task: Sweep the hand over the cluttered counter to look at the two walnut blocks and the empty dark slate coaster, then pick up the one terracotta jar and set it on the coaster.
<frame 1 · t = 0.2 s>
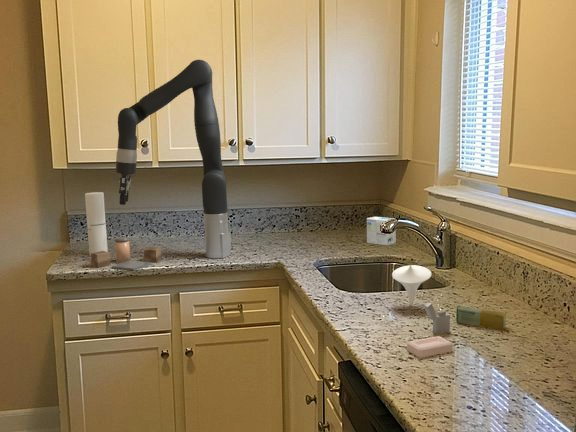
hand: (123, 203, 232), 22 cm above the worktop, tool pointing down, fingers open, 8 cm apart
light bulb box: (381, 243, 256), on the worktop
block b: (101, 265, 227), on the worktop
coaster: (131, 266, 224), on the worktop
mushroom: (411, 306, 170), on the worktop
jar: (123, 261, 233), on the worktop
medication box: (480, 325, 154), on the worktop
lighter: (436, 333, 149), on the worktop
cylindrical container: (98, 254, 246), on the worktop
soap bar: (429, 352, 138), on the worktop
block a: (153, 261, 232), on the worktop
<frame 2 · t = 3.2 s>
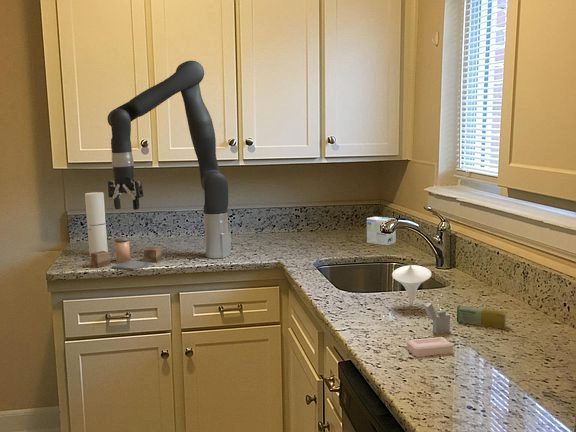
hand: (127, 209, 221), 21 cm above the worktop, tool pointing down, fingers open, 8 cm apart
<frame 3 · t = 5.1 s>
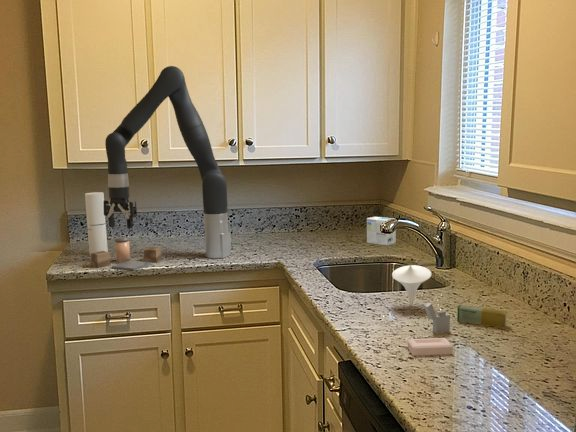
hand: (121, 227, 231), 13 cm above the worktop, tool pointing down, fingers open, 8 cm apart
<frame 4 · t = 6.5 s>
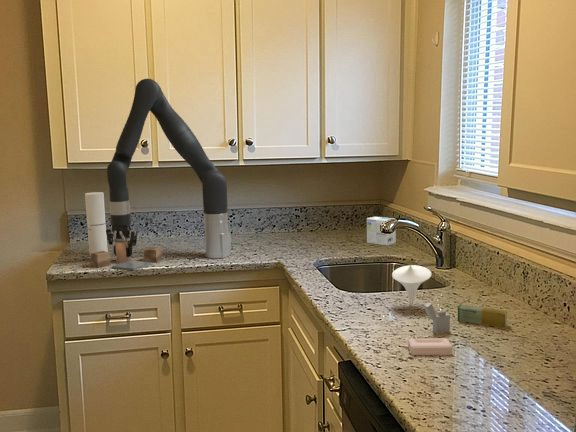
hand: (123, 255, 233), 2 cm above the worktop, tool pointing down, fingers closed on jar, 5 cm apart
jar: (123, 260, 233), on the worktop, touching gripper
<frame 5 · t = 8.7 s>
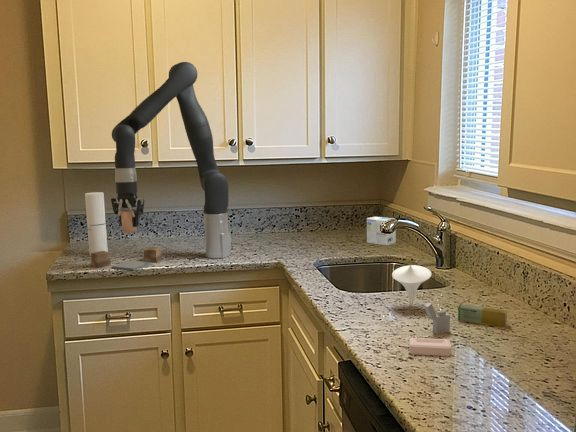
hand: (129, 226, 222), 15 cm above the worktop, tool pointing down, fingers closed on jar, 5 cm apart
jar: (129, 231, 222), point 13 cm above the worktop, touching gripper
when the fingers open (4 cm above the worktop, at t = 11.2 s): jar drops 1 cm, resting on coaster.
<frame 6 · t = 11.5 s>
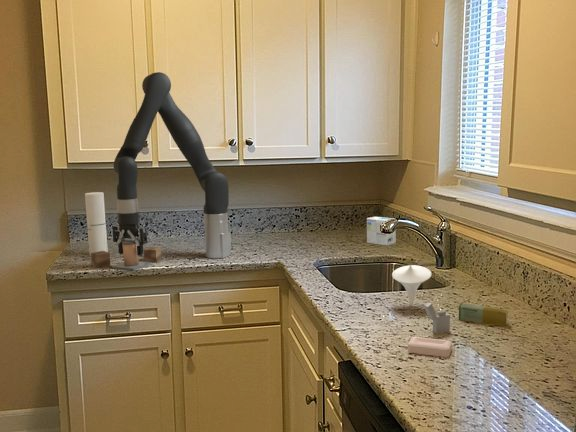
hand: (131, 254, 223), 5 cm above the worktop, tool pointing down, fingers open, 8 cm apart
jar: (131, 264, 224), point 1 cm above the worktop, touching coaster
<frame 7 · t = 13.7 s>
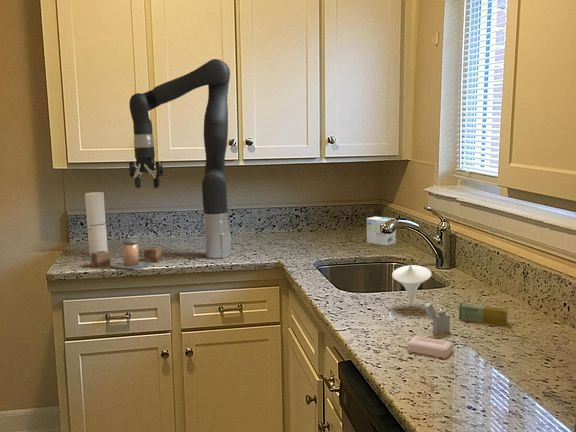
hand: (147, 187, 236), 27 cm above the worktop, tool pointing down, fingers open, 8 cm apart
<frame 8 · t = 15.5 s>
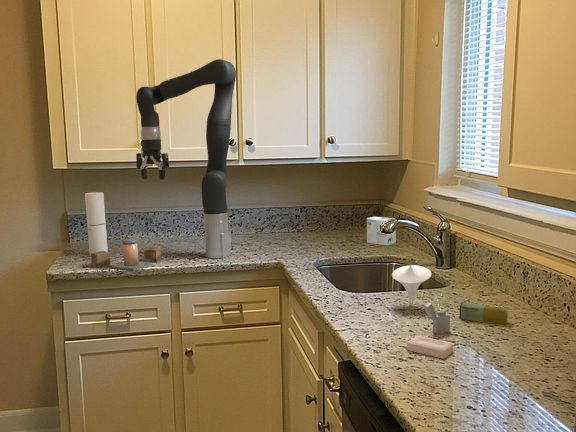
hand: (153, 179, 241), 30 cm above the worktop, tool pointing down, fingers open, 8 cm apart
at the end: jar inside the target area on the coaster (0.0 cm from its centre), point 0.9 cm above the coaster's base; jar tilted 1°; the gripper is holding nothing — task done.
